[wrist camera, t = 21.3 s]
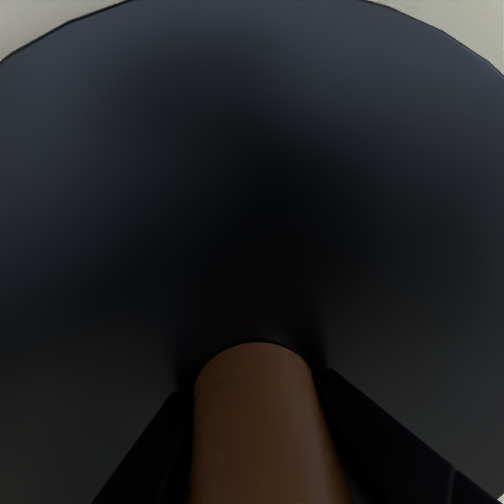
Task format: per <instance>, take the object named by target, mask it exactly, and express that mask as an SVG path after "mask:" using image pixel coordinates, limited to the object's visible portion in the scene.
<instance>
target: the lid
mask: <svg viewBox="0 0 504 504" xmlns="http://www.w3.org/2000/svg"><path fill="white" fill-rule="evenodd" d="M324 369H334V370H336V371H337V372H338V373H339V374H341V375H342V376H343V377H344V378H345V379H347V380H348V381H349V382H350V383H352V384H353V385H354V386H355V387H357V388H358V389H359V390H360V391H362V392H363V393H364V394H365V395H367V396H368V397H369V398H370V399H372V400H373V401H374V402H375V403H377V404H378V405H379V406H380V407H381V408H383V409H384V410H385V411H386V412H388V413H389V414H390V415H391V416H393V417H394V418H395V419H396V420H398V421H399V422H400V423H401V424H403V425H404V426H405V427H406V428H408V429H409V430H410V431H411V432H413V433H414V434H415V435H416V436H418V437H419V438H420V439H421V440H422V441H424V442H425V443H426V444H427V445H429V446H430V447H431V448H432V449H434V450H435V451H436V452H437V453H439V454H440V455H441V456H442V457H444V458H445V459H446V460H447V461H449V462H450V463H451V464H452V465H454V466H455V467H456V471H457V470H460V471H461V472H462V473H464V474H465V475H466V476H467V477H469V478H470V479H471V480H472V481H474V482H475V483H476V484H477V485H479V486H480V487H481V488H483V489H484V490H485V491H487V492H488V493H489V494H490V495H492V496H493V497H494V498H496V499H498V498H500V497H501V496H502V495H503V494H504V75H503V74H502V73H501V72H500V71H499V70H498V69H496V68H495V67H494V66H493V65H492V64H491V63H490V62H489V61H488V60H486V59H485V58H483V57H482V56H480V55H478V54H477V53H475V52H474V51H472V50H471V49H469V48H468V47H466V46H465V45H463V44H462V43H460V42H459V41H457V40H456V39H454V38H453V37H451V36H450V35H448V34H447V33H445V32H444V31H442V30H440V29H438V28H436V27H434V26H431V25H429V24H427V23H425V22H422V21H420V20H418V19H416V18H414V17H411V16H409V15H407V14H405V13H403V12H400V11H398V10H396V9H394V8H391V7H389V6H386V5H383V4H379V3H375V2H372V1H368V0H124V1H121V2H119V3H116V4H113V5H110V6H108V7H105V8H102V9H99V10H96V11H94V12H91V13H88V14H85V15H83V16H80V17H77V18H74V19H72V20H69V21H67V22H65V23H63V24H62V25H60V26H58V27H56V28H54V29H52V30H51V31H49V32H47V33H45V34H43V35H42V36H40V37H38V38H36V39H34V40H33V41H31V42H29V43H27V44H25V45H23V46H22V47H20V48H18V49H16V50H14V51H13V52H11V53H10V54H9V55H7V56H6V57H5V58H4V59H2V60H1V61H0V504H91V503H92V501H93V500H94V499H95V497H96V496H97V494H98V493H99V492H100V490H101V489H102V488H103V486H104V485H105V483H106V482H107V481H108V479H109V478H110V477H111V475H112V474H113V472H114V471H115V470H116V468H117V467H118V465H119V464H120V463H121V461H122V460H123V459H124V457H125V456H126V454H127V453H128V452H129V450H130V449H131V448H132V446H133V445H134V443H135V442H136V441H137V439H138V438H139V436H140V435H141V434H142V432H143V431H144V430H145V428H146V427H147V425H148V424H149V423H150V421H151V420H152V419H153V417H154V416H155V414H156V413H157V412H158V410H159V409H160V408H161V406H162V405H163V403H164V402H165V401H166V399H167V398H168V396H169V395H170V394H171V393H172V392H176V391H182V390H190V391H191V392H192V394H193V412H192V429H191V445H190V462H189V478H188V495H187V504H355V502H354V499H353V496H352V493H351V490H350V487H349V484H348V481H347V478H346V475H345V472H344V469H343V466H342V463H341V460H340V457H339V454H338V451H337V448H336V445H335V442H334V439H333V436H332V433H331V430H330V427H329V424H328V421H327V418H326V415H325V412H324V409H323V405H322V402H321V399H320V396H319V393H318V390H317V387H316V384H315V381H314V373H315V371H317V370H324Z"/></svg>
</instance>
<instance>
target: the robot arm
mask: <svg viewBox="0 0 504 504" xmlns="http://www.w3.org/2000/svg"><path fill="white" fill-rule="evenodd" d="M314 381H315V384H316V387H317V390H318V393H319V396H320V399H321V402H322V405H323V409H324V412H325V415H326V418H327V421H328V424H329V427H330V430H331V433H332V436H333V439H334V442H335V445H336V448H337V451H338V454H339V457H340V460H341V463H342V466H343V469H344V472H345V475H346V478H347V481H348V484H349V487H350V490H351V493H352V496H353V499H354V502H355V504H502V503H501V502H500V501H498V500H497V499H496V498H494V497H493V496H492V495H490V494H489V493H488V492H487V491H485V490H484V489H483V488H481V487H480V486H479V485H477V484H476V483H475V482H474V481H472V480H471V479H470V478H469V477H467V476H466V475H465V474H464V473H462V472H461V471H460V470H457V471H456V467H455V466H454V465H452V464H451V463H450V462H449V461H447V460H446V459H445V458H444V457H442V456H441V455H440V454H439V453H437V452H436V451H435V450H434V449H432V448H431V447H430V446H429V445H427V444H426V443H425V442H424V441H422V440H421V439H420V438H419V437H418V436H416V435H415V434H414V433H413V432H411V431H410V430H409V429H408V428H406V427H405V426H404V425H403V424H401V423H400V422H399V421H398V420H396V419H395V418H394V417H393V416H391V415H390V414H389V413H388V412H386V411H385V410H384V409H383V408H381V407H380V406H379V405H378V404H377V403H375V402H374V401H373V400H372V399H370V398H369V397H368V396H367V395H365V394H364V393H363V392H362V391H360V390H359V389H358V388H357V387H355V386H354V385H353V384H352V383H350V382H349V381H348V380H347V379H345V378H344V377H343V376H342V375H341V374H339V373H338V372H337V371H336V370H334V369H324V370H317V371H315V373H314ZM192 412H193V394H192V392H191V391H190V390H182V391H176V392H172V393H171V394H170V395H169V396H168V398H167V399H166V401H165V402H164V403H163V405H162V406H161V408H160V409H159V410H158V412H157V413H156V414H155V416H154V417H153V419H152V420H151V421H150V423H149V424H148V425H147V427H146V428H145V430H144V431H143V432H142V434H141V435H140V436H139V438H138V439H137V441H136V442H135V443H134V445H133V446H132V448H131V449H130V450H129V452H128V453H127V454H126V456H125V457H124V459H123V460H122V461H121V463H120V464H119V465H118V467H117V468H116V470H115V471H114V472H113V474H112V475H111V477H110V478H109V479H108V481H107V482H106V483H105V485H104V486H103V488H102V489H101V490H100V492H99V493H98V494H97V496H96V497H95V499H94V500H93V501H92V503H91V504H187V495H188V478H189V462H190V445H191V429H192Z"/></svg>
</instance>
